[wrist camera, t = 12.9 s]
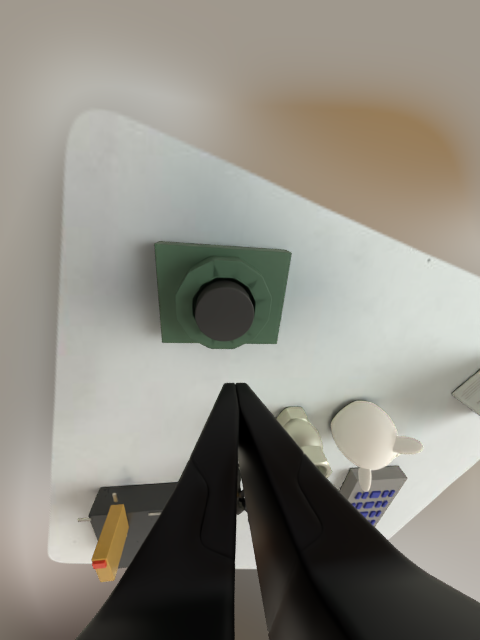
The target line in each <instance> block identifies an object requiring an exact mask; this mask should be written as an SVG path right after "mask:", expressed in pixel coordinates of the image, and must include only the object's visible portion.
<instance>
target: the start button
mask: <svg viewBox="0 0 480 640" xmlns="http://www.w3.org/2000/svg"><path fill="white" fill-rule="evenodd" d="M195 319H196V323H197V325H198V327H199V329H200V330H201V331H202V332H203V334H205V335H206V336H207V337H209V338H211V339H213V340H217V341H232V340H235V339H238V338H239V337H241V336H243V335H244V334H245V333H246V332H247V331H248V330H249V329H250V327H251V325H252V323H253V320H254V308H253V304H252V302H251V300H250V298H249V295H248V293H247V292H246V291H245V289H244V288H243V287H241V286H240V285H239V284H237V283H234V282H231V281H217V282H214V283H211V284H209V285H208V286H207V287H205V288H204V289H203V290H202V292H201V293H200V295H199V297H198V300H197V305H196V310H195Z"/></svg>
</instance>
